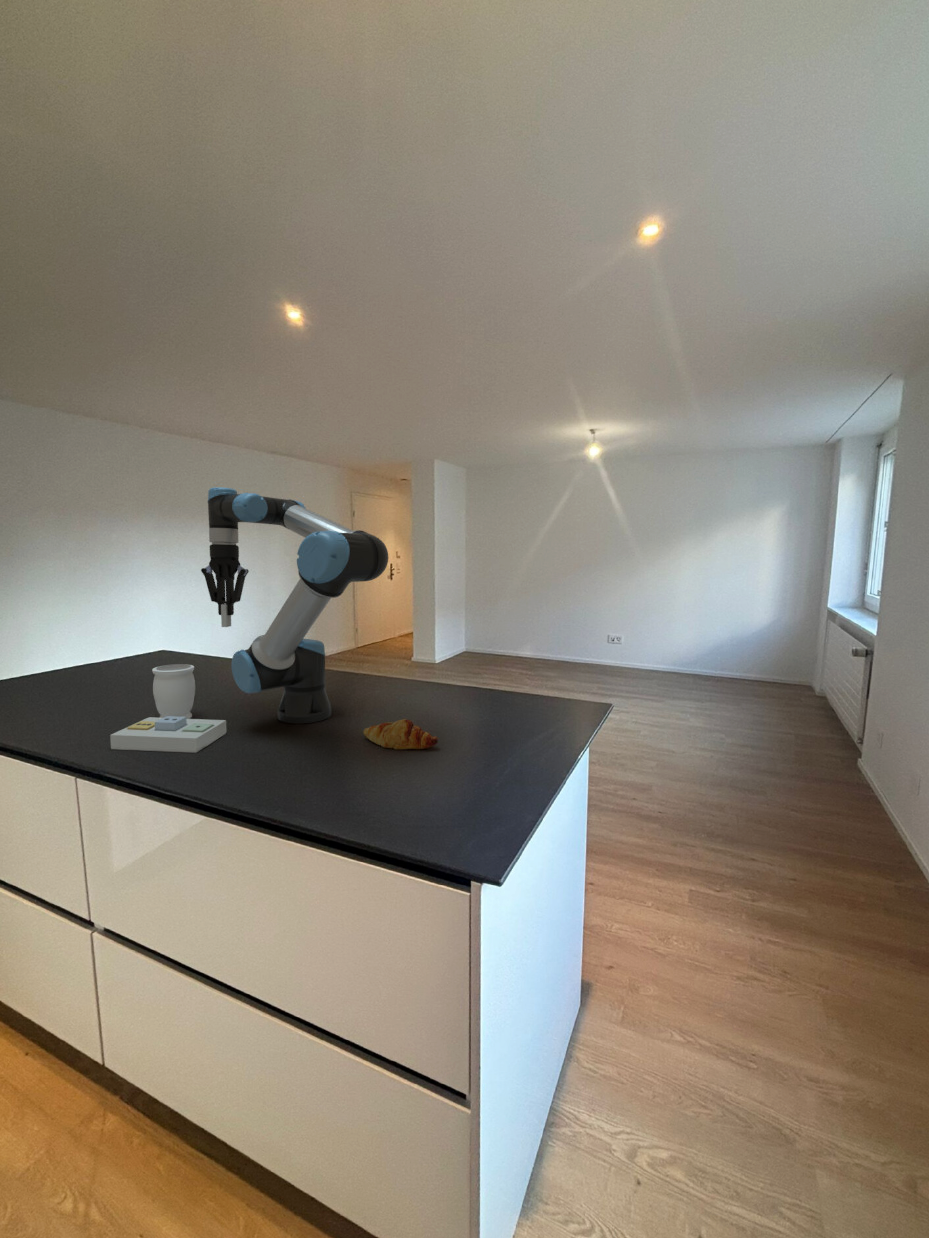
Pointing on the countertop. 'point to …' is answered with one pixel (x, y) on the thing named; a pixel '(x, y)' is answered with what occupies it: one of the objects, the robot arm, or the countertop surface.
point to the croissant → (400, 735)
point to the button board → (168, 737)
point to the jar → (174, 690)
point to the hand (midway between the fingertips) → (226, 626)
